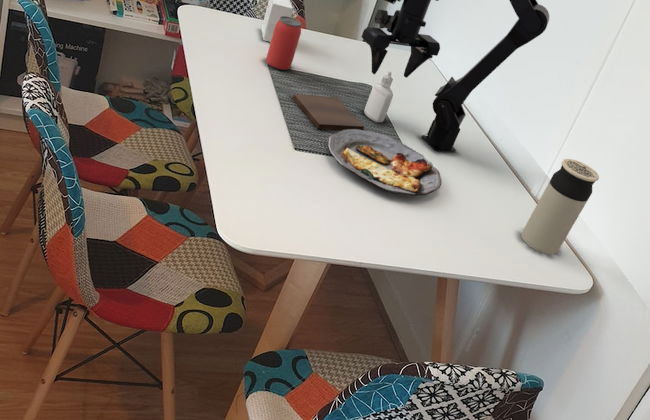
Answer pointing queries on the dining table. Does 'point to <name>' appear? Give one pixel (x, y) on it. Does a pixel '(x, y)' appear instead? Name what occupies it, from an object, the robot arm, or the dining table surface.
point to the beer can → (284, 43)
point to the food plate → (385, 162)
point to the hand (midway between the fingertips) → (389, 75)
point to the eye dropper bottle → (379, 99)
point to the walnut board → (327, 112)
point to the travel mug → (559, 206)
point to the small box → (274, 16)
